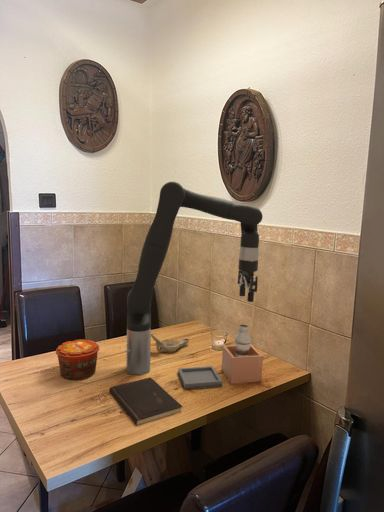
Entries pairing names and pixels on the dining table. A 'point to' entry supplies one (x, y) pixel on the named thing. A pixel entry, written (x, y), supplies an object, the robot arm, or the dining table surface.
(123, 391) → the hardcover book
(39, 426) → the dining table surface
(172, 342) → the oil lamp
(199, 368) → the tray
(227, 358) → the pink open box
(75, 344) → the food container
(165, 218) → the robot arm
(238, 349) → the plastic bottle
